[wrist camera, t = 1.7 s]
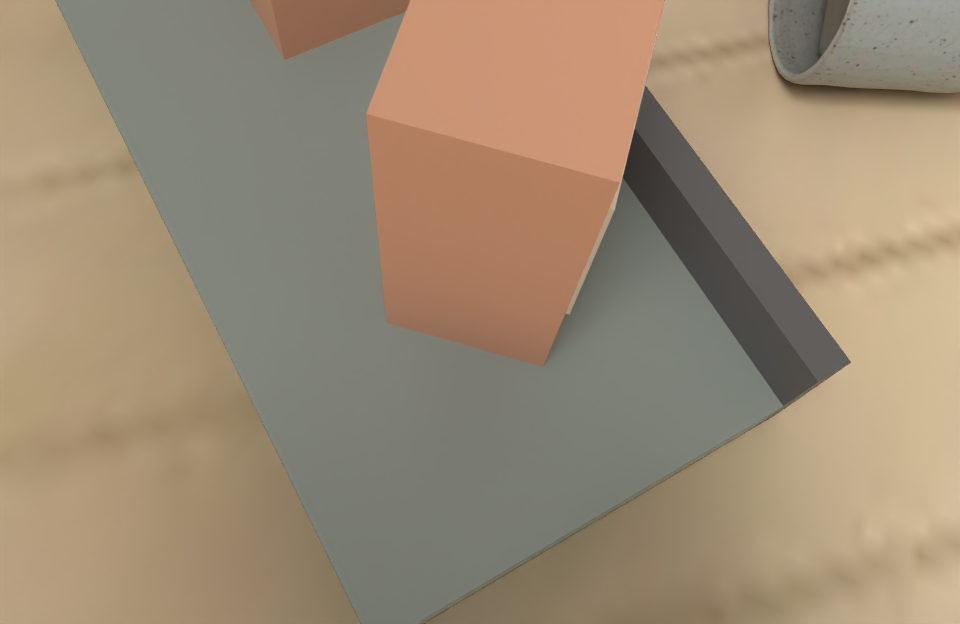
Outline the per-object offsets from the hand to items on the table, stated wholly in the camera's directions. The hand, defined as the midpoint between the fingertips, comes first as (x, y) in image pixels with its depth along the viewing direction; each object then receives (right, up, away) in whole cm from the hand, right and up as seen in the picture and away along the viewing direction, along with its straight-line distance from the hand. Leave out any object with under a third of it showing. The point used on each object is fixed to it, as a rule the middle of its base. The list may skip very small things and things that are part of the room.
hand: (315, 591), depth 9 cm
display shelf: (-2, +7, +22) cm, 24 cm away
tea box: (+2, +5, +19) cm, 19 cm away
